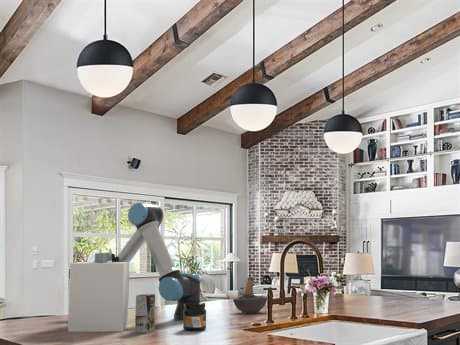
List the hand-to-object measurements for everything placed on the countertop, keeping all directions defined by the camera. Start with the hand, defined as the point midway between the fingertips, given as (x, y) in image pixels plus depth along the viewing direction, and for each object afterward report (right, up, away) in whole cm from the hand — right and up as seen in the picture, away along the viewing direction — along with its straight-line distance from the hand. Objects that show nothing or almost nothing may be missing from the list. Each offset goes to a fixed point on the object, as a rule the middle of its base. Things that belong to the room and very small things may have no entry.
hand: (105, 251), depth 302 cm
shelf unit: (0, -33, -16) cm, 37 cm away
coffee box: (+23, -33, -25) cm, 47 cm away
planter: (+72, -41, +49) cm, 96 cm away
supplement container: (+45, -33, -20) cm, 59 cm away
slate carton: (0, -4, -4) cm, 6 cm away
